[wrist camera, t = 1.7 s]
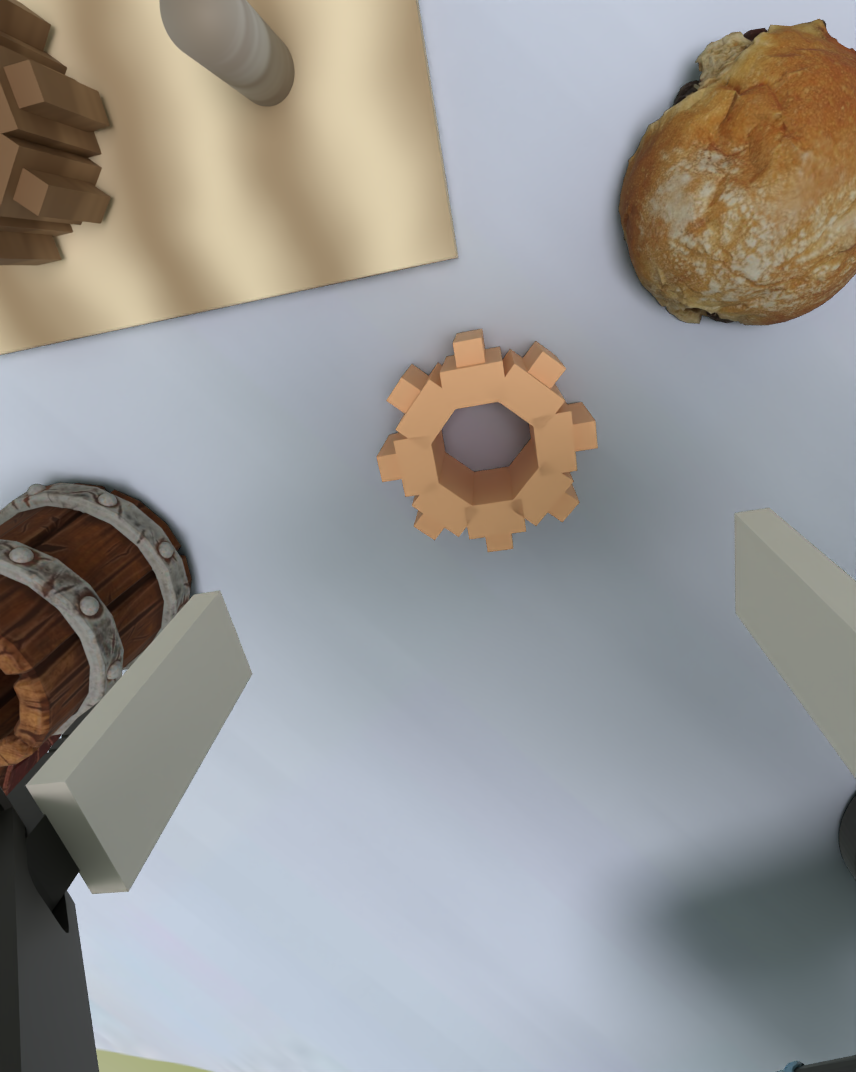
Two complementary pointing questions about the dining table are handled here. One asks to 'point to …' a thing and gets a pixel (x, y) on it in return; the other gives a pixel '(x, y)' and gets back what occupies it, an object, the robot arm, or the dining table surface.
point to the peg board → (208, 157)
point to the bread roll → (750, 181)
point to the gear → (495, 494)
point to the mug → (75, 608)
